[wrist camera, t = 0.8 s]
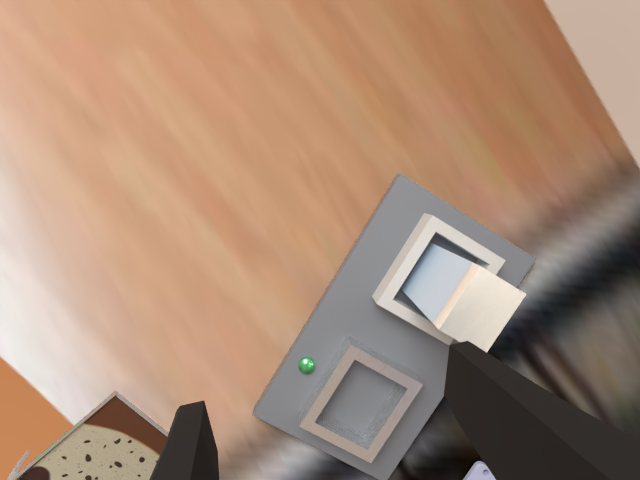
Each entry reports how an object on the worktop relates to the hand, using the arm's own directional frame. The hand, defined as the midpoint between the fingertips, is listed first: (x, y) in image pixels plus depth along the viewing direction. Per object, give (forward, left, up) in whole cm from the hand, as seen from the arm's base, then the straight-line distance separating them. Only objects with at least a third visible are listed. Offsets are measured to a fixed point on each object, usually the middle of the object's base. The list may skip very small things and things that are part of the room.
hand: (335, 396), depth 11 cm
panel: (-8, +2, -18) cm, 20 cm away
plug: (-8, -4, -17) cm, 19 cm away
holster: (-8, -4, -18) cm, 20 cm away
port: (-7, +7, -17) cm, 20 cm away
